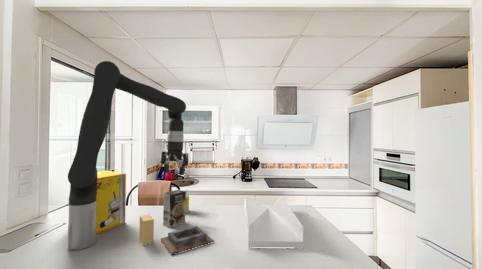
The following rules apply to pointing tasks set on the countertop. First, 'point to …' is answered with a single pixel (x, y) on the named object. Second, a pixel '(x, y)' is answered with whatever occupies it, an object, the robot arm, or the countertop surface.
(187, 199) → the supplement bottle
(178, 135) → the robot arm
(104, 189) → the packaging box
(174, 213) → the coffee box
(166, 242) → the slot base
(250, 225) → the building model
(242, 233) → the countertop surface
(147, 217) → the key block
